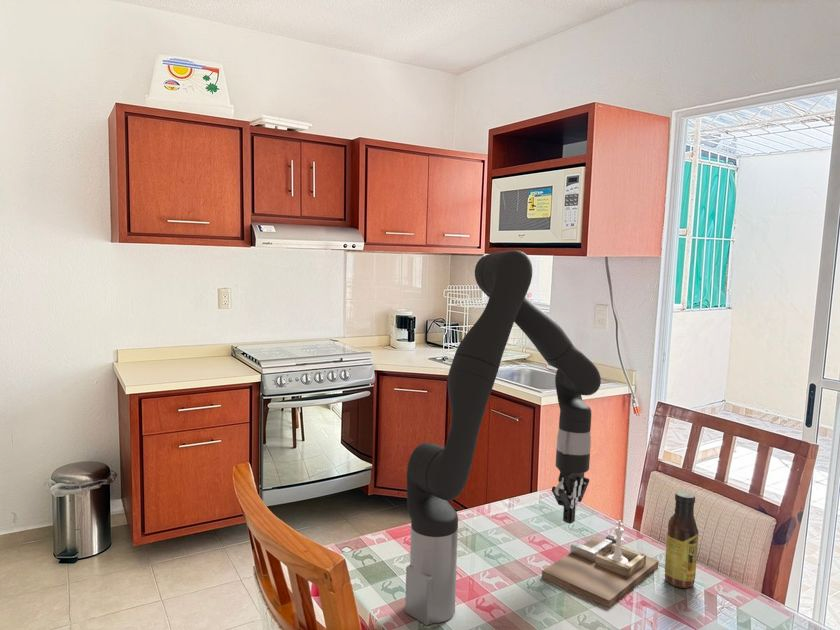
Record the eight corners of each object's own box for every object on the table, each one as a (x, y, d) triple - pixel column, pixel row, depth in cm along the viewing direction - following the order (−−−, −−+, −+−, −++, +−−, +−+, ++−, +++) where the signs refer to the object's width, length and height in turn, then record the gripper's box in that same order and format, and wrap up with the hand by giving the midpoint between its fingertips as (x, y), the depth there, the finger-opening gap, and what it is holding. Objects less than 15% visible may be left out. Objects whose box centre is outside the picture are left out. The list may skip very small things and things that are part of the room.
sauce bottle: (692, 593, 128) (698, 503, 126) (661, 584, 131) (667, 496, 130) (696, 579, 134) (702, 493, 132) (666, 571, 137) (672, 487, 135)
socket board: (608, 607, 122) (609, 591, 121) (541, 577, 133) (542, 562, 133) (658, 566, 139) (659, 552, 138) (594, 542, 150) (595, 529, 150)
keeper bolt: (593, 561, 137) (594, 553, 137) (570, 552, 141) (570, 544, 141) (612, 549, 144) (612, 541, 143) (589, 540, 148) (589, 532, 148)
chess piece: (612, 555, 141) (614, 514, 140) (632, 562, 137) (635, 520, 136) (602, 562, 137) (604, 520, 136) (622, 570, 134) (625, 527, 133)
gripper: (574, 439, 145) (569, 509, 146) (543, 449, 135) (538, 524, 136) (602, 447, 139) (597, 519, 141) (572, 458, 130) (567, 535, 131)
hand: (568, 521), depth 138 cm, fingers closed
